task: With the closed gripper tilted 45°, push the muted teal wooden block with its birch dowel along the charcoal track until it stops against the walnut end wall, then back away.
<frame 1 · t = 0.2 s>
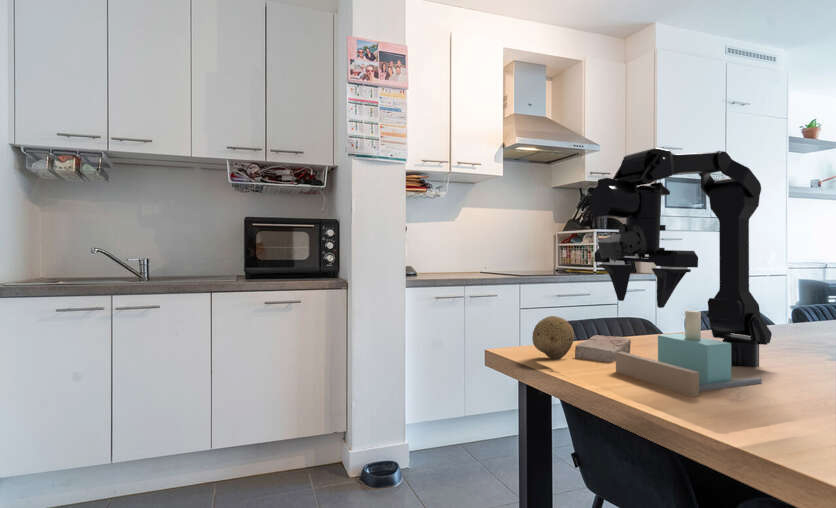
hand: (639, 304, 82), 15 cm above the table, tool pointing down, fingers open, 9 cm apart
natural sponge: (552, 361, 101), on the table
dowel block: (692, 344, 81), point 8 cm above the table, slide at 0.0 cm
brick: (603, 362, 101), on the table
track: (690, 386, 81), on the table
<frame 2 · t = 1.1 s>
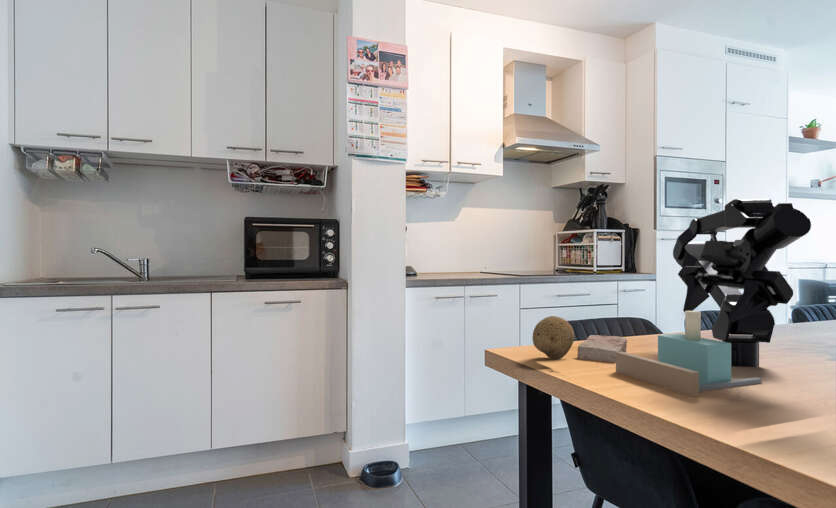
hand: (706, 316, 82), 12 cm above the table, tool tilted 45°, fingers open, 9 cm apart
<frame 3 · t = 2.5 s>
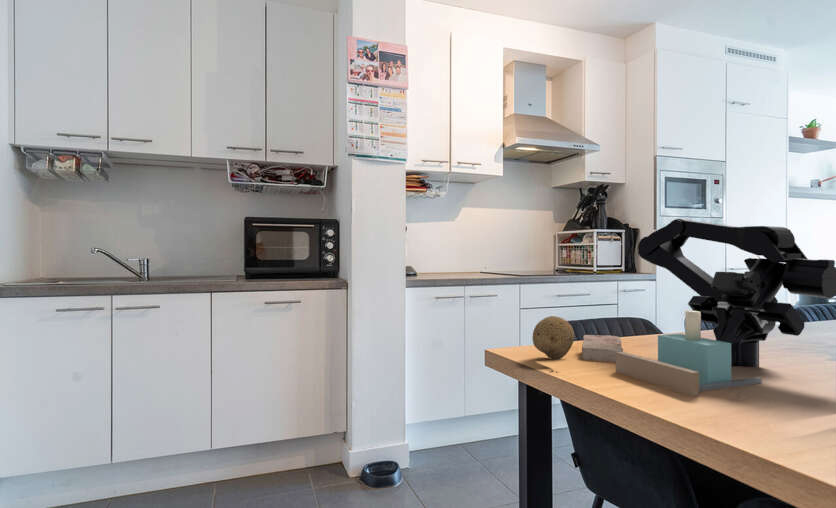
hand: (718, 346, 83), 7 cm above the table, tool tilted 45°, fingers closed
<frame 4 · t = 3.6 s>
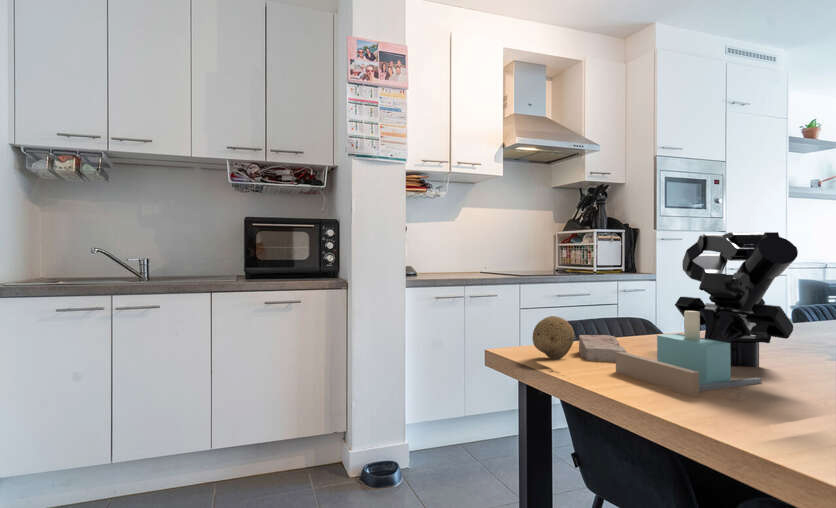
hand: (706, 349, 81), 7 cm above the table, tool tilted 45°, fingers closed, pressing on dowel block
dowel block: (692, 344, 81), point 8 cm above the table, slide at 0.2 cm, touching gripper
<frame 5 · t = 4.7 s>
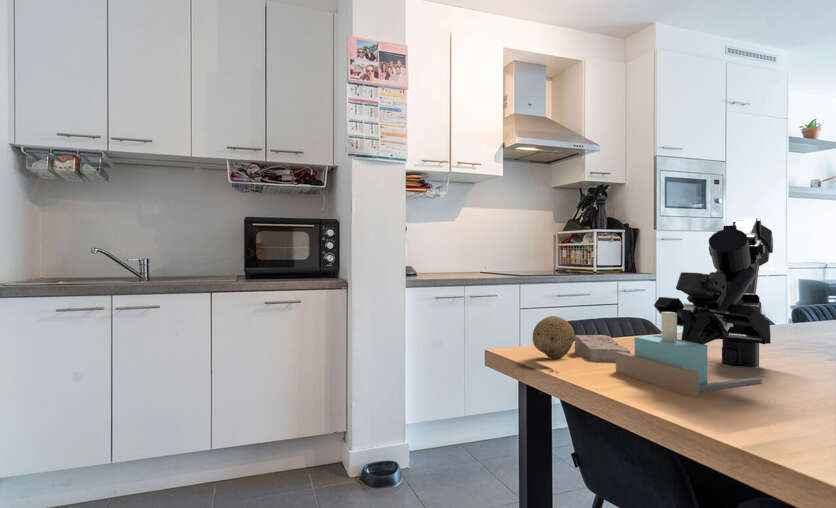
hand: (682, 350, 80), 7 cm above the table, tool tilted 45°, fingers closed, pressing on dowel block
dowel block: (669, 346, 79), point 7 cm above the table, slide at 5.7 cm, touching gripper
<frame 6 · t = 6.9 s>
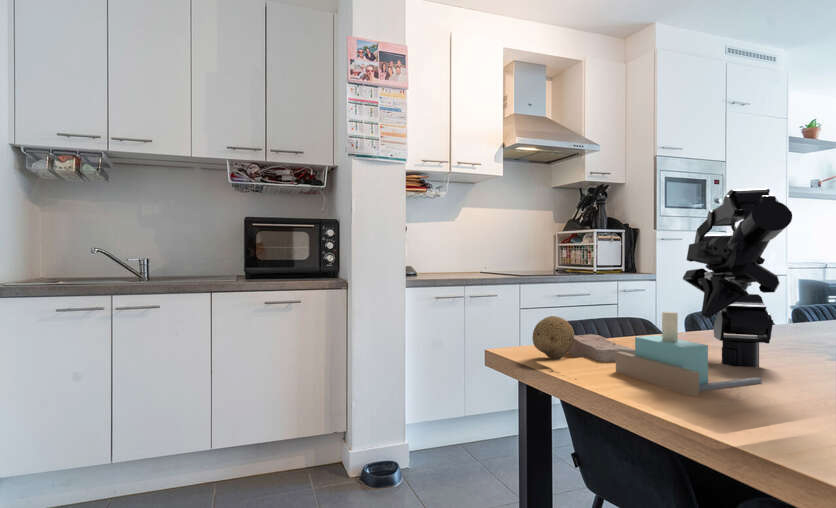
hand: (704, 317, 84), 12 cm above the table, tool tilted 35°, fingers closed
dowel block: (669, 346, 79), point 8 cm above the table, slide at 5.5 cm
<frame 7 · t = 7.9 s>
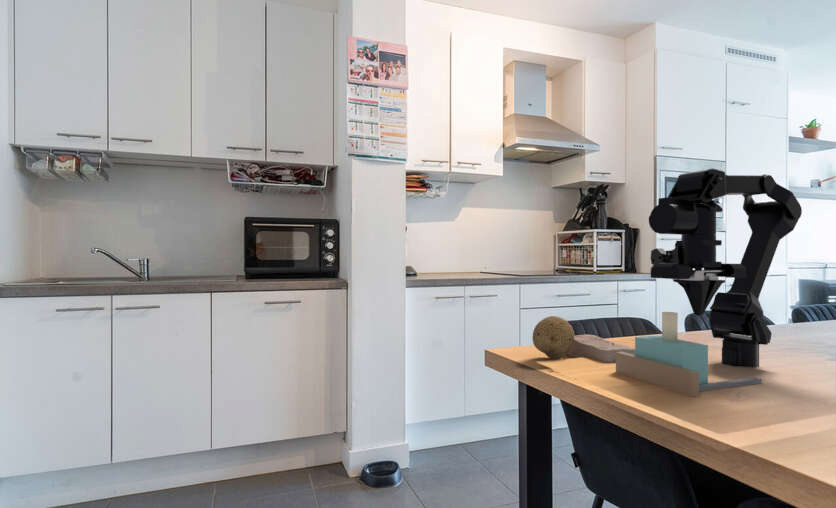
hand: (698, 315, 87), 12 cm above the table, tool pointing down, fingers closed
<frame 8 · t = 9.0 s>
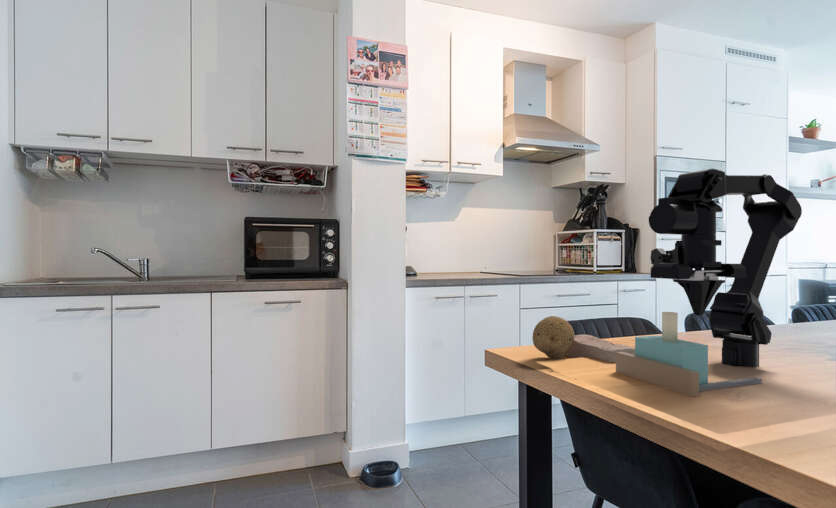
hand: (698, 315, 87), 12 cm above the table, tool pointing down, fingers closed
at the end: dowel block slide at 5.5 cm; brick moved 1.1 cm from its start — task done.
